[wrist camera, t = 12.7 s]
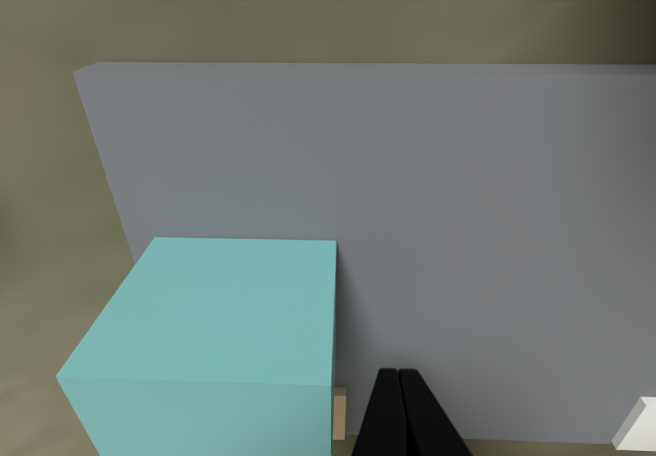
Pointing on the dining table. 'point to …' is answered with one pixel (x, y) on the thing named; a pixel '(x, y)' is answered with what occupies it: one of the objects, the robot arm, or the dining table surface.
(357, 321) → the grey flat board
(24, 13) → the dining table surface
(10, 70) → the dining table surface
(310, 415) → the teal cube
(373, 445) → the robot arm
